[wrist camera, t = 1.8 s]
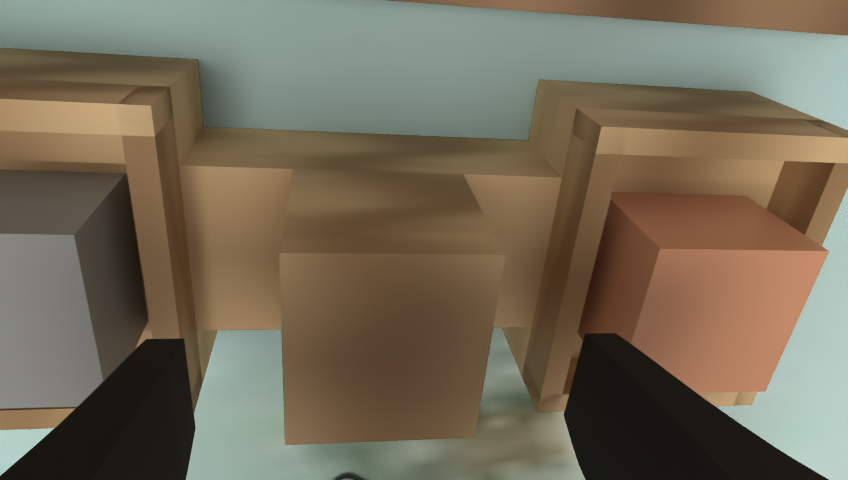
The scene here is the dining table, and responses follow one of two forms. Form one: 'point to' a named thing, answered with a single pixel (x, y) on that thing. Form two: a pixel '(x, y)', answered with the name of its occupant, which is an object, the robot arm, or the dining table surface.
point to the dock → (693, 11)
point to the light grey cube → (65, 285)
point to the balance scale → (395, 227)
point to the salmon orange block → (701, 285)
